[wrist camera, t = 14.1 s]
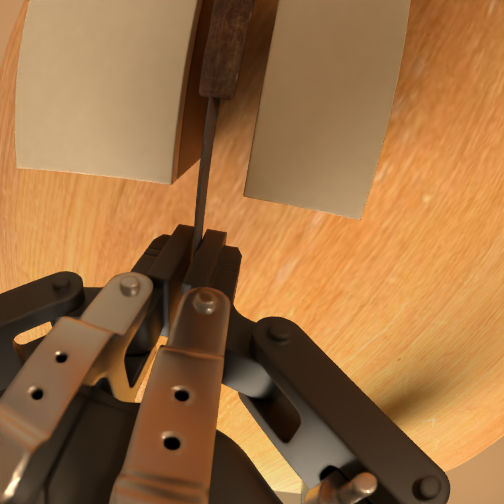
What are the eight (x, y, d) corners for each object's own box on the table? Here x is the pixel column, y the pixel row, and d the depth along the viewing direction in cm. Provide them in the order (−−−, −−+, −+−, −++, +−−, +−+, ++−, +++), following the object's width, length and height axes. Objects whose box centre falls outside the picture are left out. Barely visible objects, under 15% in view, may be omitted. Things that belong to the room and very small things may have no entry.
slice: (253, 165, 14) (242, 197, 10) (284, 1, 10) (286, -37, 6) (337, 182, 14) (361, 220, 10) (372, 23, 10) (411, -1, 6)
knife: (210, 296, 13) (201, 328, 11) (185, 291, 13) (172, 322, 11) (280, -98, 5) (281, -126, 3) (250, -101, 5) (245, -128, 3)
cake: (71, 144, 14) (16, 168, 10) (87, 3, 10) (31, -11, 6) (202, 156, 14) (171, 185, 10) (229, -6, 10) (208, -43, 6)
